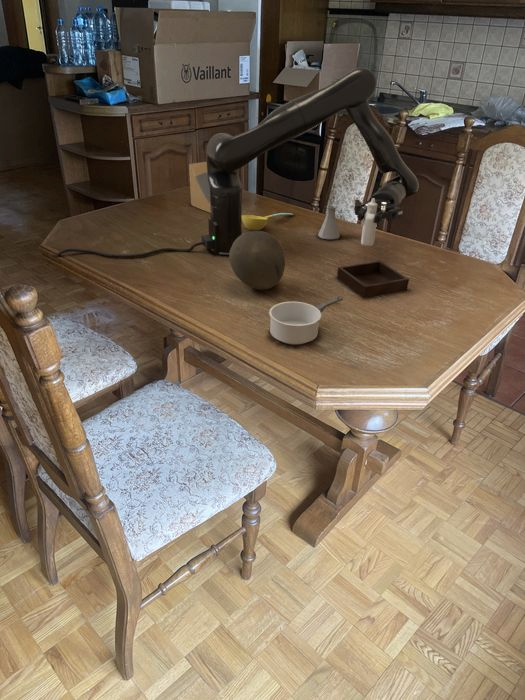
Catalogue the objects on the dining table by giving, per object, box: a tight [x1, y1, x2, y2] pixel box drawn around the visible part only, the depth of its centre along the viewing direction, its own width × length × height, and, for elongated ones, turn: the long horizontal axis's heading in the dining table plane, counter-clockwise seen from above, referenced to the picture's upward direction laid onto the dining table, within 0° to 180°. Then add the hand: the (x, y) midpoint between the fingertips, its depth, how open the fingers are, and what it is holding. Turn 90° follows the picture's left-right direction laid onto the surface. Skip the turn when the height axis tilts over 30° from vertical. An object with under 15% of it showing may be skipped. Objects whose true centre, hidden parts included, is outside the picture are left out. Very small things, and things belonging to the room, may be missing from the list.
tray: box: [336, 260, 410, 299], centre depth 145 cm, size 14×14×3 cm
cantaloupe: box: [228, 230, 286, 291], centre depth 138 cm, size 14×14×15 cm
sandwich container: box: [188, 161, 210, 213], centre depth 197 cm, size 9×15×15 cm, turn 42°
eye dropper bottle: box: [360, 198, 378, 247], centre depth 142 cm, size 4×6×12 cm
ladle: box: [242, 212, 294, 231], centre depth 186 cm, size 9×26×6 cm, turn 142°
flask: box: [317, 204, 341, 240], centre depth 175 cm, size 7×7×10 cm
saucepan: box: [268, 296, 344, 345], centre depth 122 cm, size 12×20×6 cm, turn 127°
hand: (368, 217), depth 139 cm, fingers closed on eye dropper bottle, 3 cm apart
